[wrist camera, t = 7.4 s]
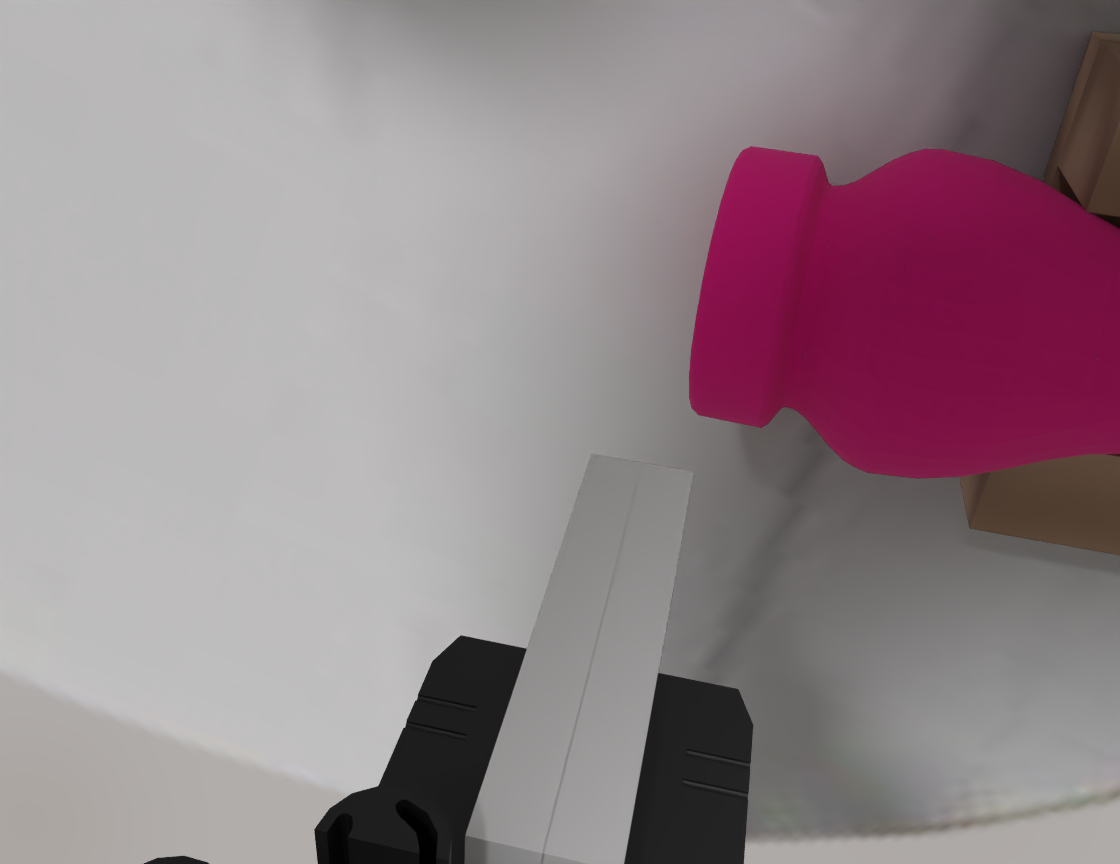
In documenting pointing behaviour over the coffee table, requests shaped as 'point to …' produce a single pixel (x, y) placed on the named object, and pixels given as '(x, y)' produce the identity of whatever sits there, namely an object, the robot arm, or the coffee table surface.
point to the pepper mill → (912, 313)
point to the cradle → (1087, 480)
